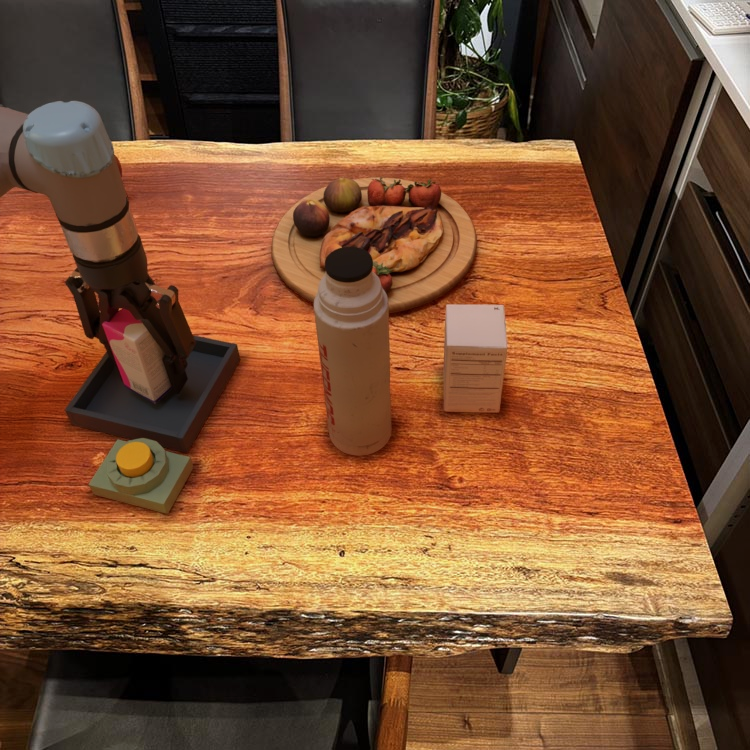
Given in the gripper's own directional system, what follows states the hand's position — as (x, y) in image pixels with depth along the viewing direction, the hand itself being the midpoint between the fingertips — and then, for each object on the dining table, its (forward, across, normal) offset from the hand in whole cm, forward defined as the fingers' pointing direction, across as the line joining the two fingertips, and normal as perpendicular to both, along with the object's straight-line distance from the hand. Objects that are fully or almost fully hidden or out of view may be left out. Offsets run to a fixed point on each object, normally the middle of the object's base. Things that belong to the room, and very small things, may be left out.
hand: (154, 380), depth 106 cm
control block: (+2, -5, +14) cm, 15 cm away
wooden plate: (+3, -19, -36) cm, 41 cm away
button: (-1, -5, +13) cm, 14 cm away
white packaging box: (+3, -40, -11) cm, 42 cm away
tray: (+2, 0, 0) cm, 2 cm away
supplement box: (+1, 0, 0) cm, 1 cm away
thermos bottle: (+3, -28, -1) cm, 28 cm away
